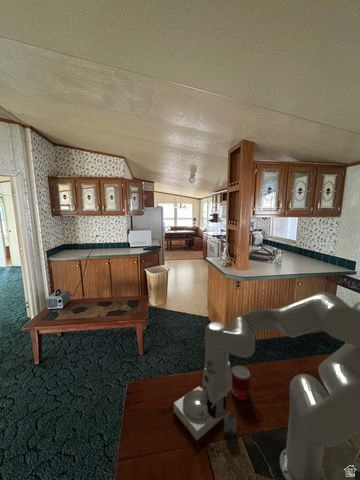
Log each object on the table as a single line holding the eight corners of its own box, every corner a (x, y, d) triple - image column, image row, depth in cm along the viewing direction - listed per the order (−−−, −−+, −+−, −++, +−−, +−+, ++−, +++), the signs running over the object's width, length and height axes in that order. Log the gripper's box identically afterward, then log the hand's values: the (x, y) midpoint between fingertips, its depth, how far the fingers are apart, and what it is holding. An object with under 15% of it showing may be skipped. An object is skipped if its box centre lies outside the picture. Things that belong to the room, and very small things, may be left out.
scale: (222, 417, 84) (223, 408, 84) (196, 441, 75) (196, 430, 75) (198, 393, 95) (199, 385, 94) (173, 411, 86) (173, 402, 86)
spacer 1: (226, 412, 71) (226, 396, 70) (217, 420, 68) (217, 403, 68) (216, 403, 75) (216, 387, 74) (207, 410, 72) (207, 394, 71)
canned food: (250, 402, 91) (251, 379, 90) (231, 399, 93) (232, 376, 91) (248, 388, 99) (249, 366, 97) (230, 385, 100) (231, 364, 99)
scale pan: (220, 407, 84) (220, 405, 84) (197, 426, 76) (197, 424, 76) (199, 386, 93) (199, 385, 93) (176, 401, 86) (176, 400, 86)
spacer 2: (238, 432, 79) (238, 418, 78) (230, 440, 76) (231, 425, 75) (228, 423, 82) (229, 409, 81) (221, 430, 79) (221, 415, 79)
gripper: (206, 380, 61) (206, 436, 63) (242, 355, 71) (241, 404, 74) (189, 366, 67) (190, 417, 69) (224, 345, 77) (224, 390, 79)
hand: (216, 410), depth 71 cm, fingers closed on spacer 1, 4 cm apart
